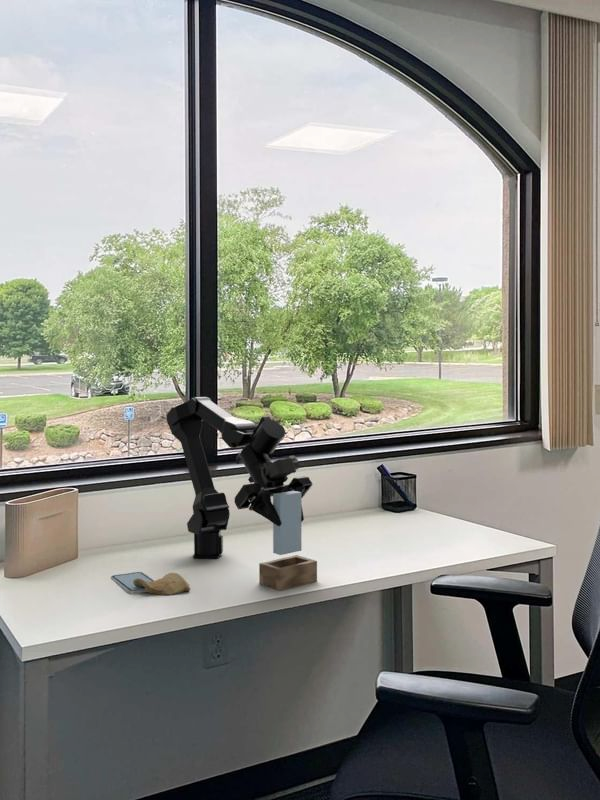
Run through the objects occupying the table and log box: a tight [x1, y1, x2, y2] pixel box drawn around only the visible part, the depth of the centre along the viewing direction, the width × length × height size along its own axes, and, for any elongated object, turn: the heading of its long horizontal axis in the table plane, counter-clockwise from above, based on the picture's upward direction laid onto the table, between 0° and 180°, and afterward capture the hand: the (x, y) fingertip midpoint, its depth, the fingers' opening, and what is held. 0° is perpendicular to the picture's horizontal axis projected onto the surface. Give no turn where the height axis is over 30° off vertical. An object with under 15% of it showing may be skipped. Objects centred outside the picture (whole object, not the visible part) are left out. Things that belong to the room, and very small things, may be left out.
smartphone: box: [110, 571, 155, 595], centre depth 173 cm, size 7×1×15 cm
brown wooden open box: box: [258, 554, 318, 592], centre depth 173 cm, size 11×7×4 cm, turn 132°
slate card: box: [272, 491, 302, 556], centre depth 172 cm, size 6×2×13 cm, turn 131°
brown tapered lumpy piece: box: [133, 572, 191, 596], centre depth 168 cm, size 11×4×10 cm
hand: (291, 523), depth 171 cm, fingers closed on slate card, 6 cm apart
